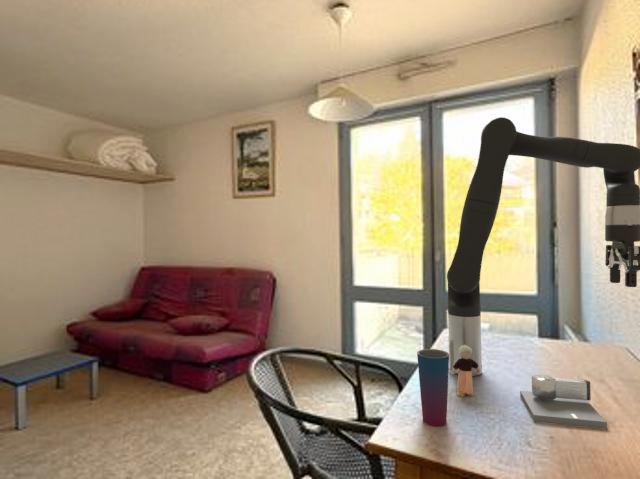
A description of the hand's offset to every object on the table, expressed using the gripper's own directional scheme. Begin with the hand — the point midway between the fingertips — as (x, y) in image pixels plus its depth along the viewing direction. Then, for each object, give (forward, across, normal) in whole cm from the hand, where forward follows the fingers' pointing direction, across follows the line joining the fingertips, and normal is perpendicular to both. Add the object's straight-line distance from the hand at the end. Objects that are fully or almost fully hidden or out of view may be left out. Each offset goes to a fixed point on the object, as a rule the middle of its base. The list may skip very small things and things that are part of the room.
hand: (622, 284), depth 101 cm
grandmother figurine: (+28, +14, -40) cm, 51 cm away
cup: (+28, +31, -48) cm, 64 cm away
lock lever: (+25, +18, -20) cm, 36 cm away
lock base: (+27, +20, -21) cm, 40 cm away
